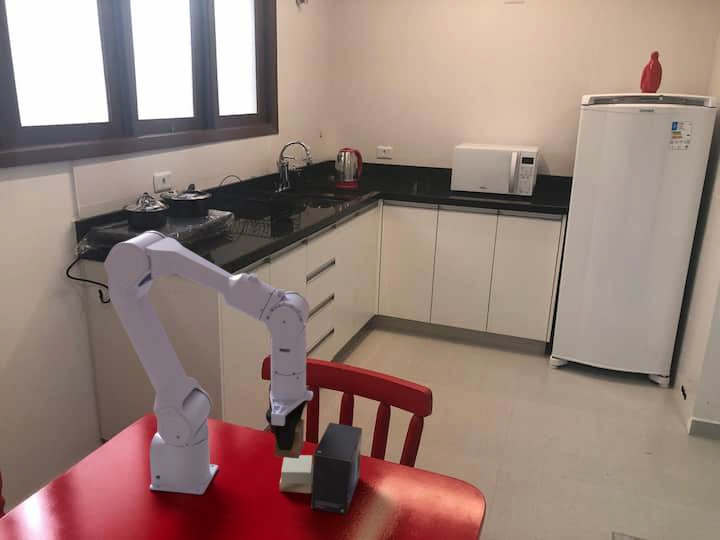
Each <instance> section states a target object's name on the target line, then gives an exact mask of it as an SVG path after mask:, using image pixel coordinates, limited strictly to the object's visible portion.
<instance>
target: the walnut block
mask: <svg viewBox="0 0 720 540" xmlns="http://www.w3.org/2000/svg"><path fill="white" fill-rule="evenodd" d="M304 425H305V419H304V418H301V419H300V420H299V422H298V424H297V426H296V430H295V435H294V442H293V446H292V448H291V450H290V451H288V450H279V448H278V445H277V442H276V438H275V437H274V457H279V458H284V457H287V458H297V459H299V456H300V455H301V453H302V450H303V447H304V436H305V434H304V433H305V432H304V431H305V430H304V427H305V426H304Z"/></svg>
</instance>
